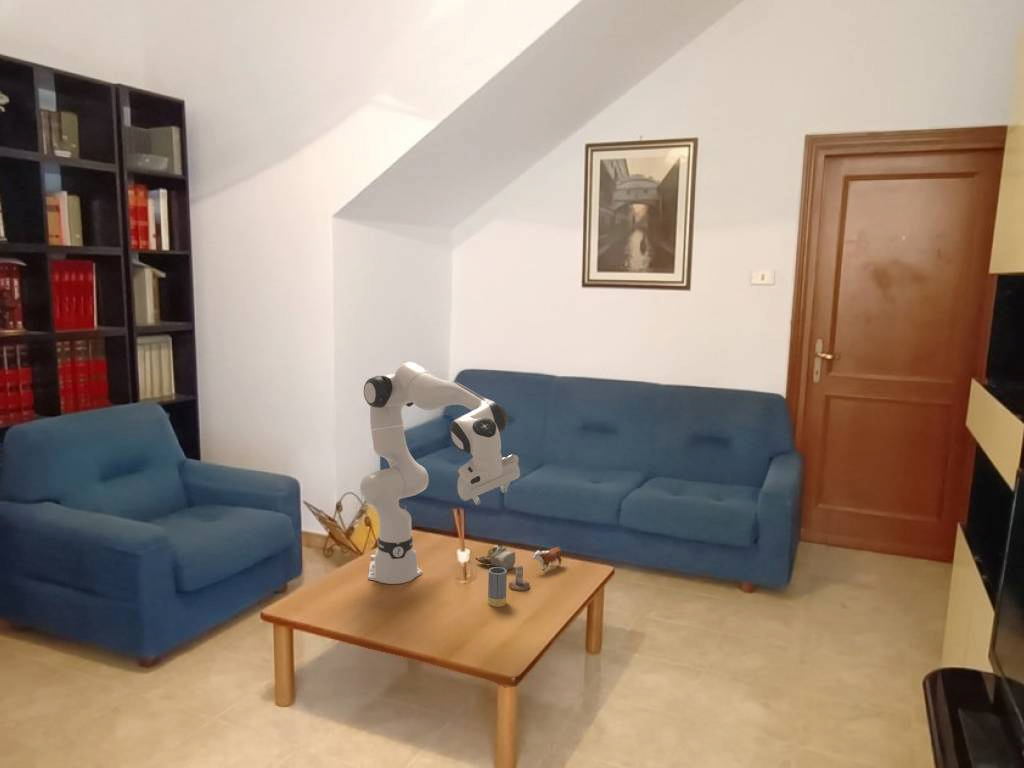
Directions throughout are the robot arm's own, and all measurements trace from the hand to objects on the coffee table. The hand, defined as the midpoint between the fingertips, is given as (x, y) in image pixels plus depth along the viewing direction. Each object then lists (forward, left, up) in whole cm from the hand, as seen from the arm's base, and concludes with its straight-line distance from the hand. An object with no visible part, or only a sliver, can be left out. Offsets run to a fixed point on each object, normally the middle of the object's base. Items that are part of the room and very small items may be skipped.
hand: (490, 496), depth 240 cm
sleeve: (-3, +4, -37) cm, 37 cm away
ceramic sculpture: (-33, +14, -37) cm, 52 cm away
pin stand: (-13, +15, -37) cm, 42 cm away
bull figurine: (-25, +30, -37) cm, 54 cm away
